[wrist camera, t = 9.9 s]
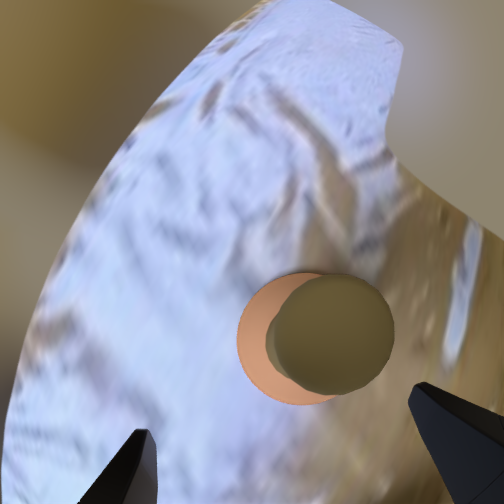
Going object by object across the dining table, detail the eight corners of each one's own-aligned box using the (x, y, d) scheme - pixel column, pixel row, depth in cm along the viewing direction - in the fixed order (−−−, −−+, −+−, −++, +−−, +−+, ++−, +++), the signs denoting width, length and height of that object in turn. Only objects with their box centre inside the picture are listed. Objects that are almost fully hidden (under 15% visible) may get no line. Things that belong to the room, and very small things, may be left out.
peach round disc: (380, 297, 22) (383, 295, 21) (342, 416, 19) (345, 419, 18) (263, 259, 23) (263, 255, 23) (218, 378, 21) (217, 379, 20)
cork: (339, 295, 21) (399, 244, 11) (351, 373, 19) (424, 389, 9) (260, 307, 21) (252, 264, 11) (270, 387, 19) (272, 424, 9)
